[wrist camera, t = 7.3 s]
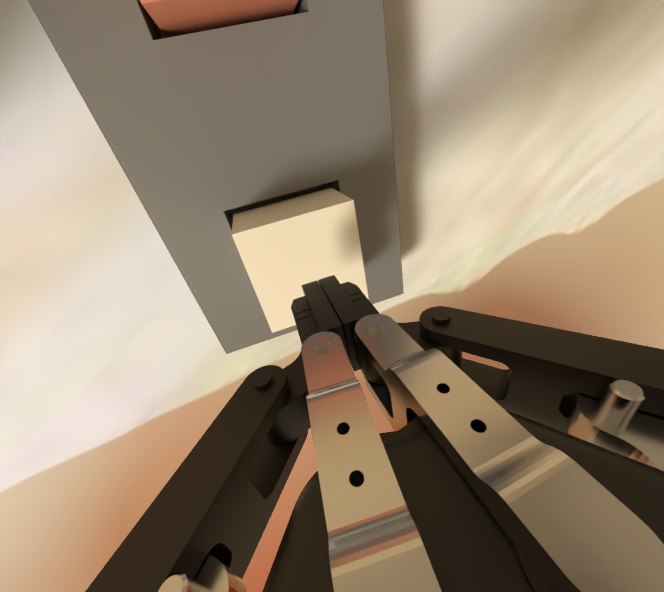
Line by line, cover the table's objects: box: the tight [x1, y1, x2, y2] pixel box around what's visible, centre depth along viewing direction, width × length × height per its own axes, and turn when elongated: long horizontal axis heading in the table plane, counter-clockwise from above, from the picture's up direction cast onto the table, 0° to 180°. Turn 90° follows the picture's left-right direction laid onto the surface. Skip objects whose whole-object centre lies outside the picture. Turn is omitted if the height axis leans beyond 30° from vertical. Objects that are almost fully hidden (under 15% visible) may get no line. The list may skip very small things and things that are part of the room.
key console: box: [28, 0, 403, 354], centre depth 16 cm, size 14×26×4 cm, turn 11°
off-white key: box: [232, 188, 369, 333], centre depth 16 cm, size 6×6×4 cm
